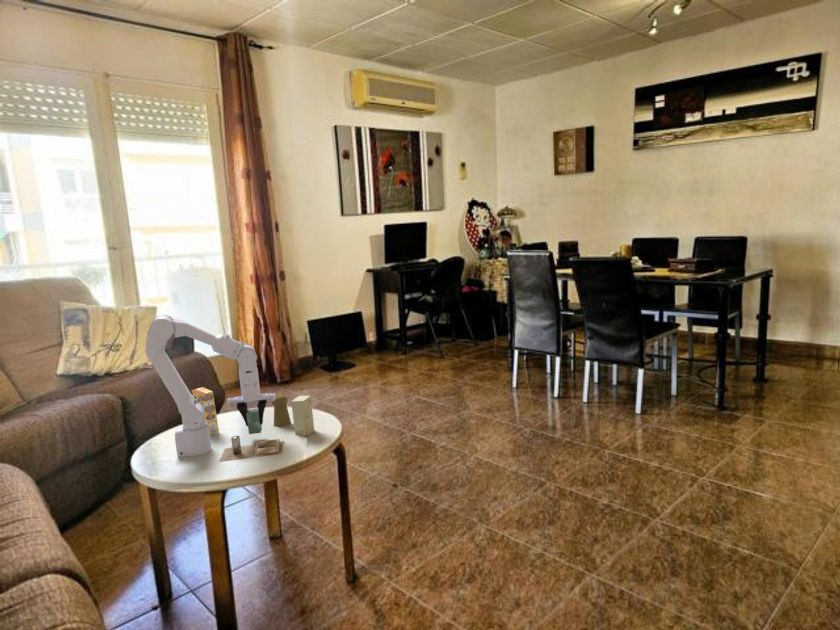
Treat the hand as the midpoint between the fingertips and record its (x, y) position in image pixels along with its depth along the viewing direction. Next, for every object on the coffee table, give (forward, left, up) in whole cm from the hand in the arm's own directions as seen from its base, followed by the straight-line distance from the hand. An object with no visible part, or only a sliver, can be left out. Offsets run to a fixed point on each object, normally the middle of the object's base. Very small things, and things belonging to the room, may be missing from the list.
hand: (254, 424), depth 173 cm
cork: (+7, +13, -6) cm, 16 cm away
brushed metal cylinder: (-4, -9, -5) cm, 12 cm away
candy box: (-18, +15, -6) cm, 24 cm away
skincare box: (+15, +3, -6) cm, 17 cm away
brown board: (0, -9, -6) cm, 11 cm away
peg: (0, 0, -3) cm, 2 cm away
